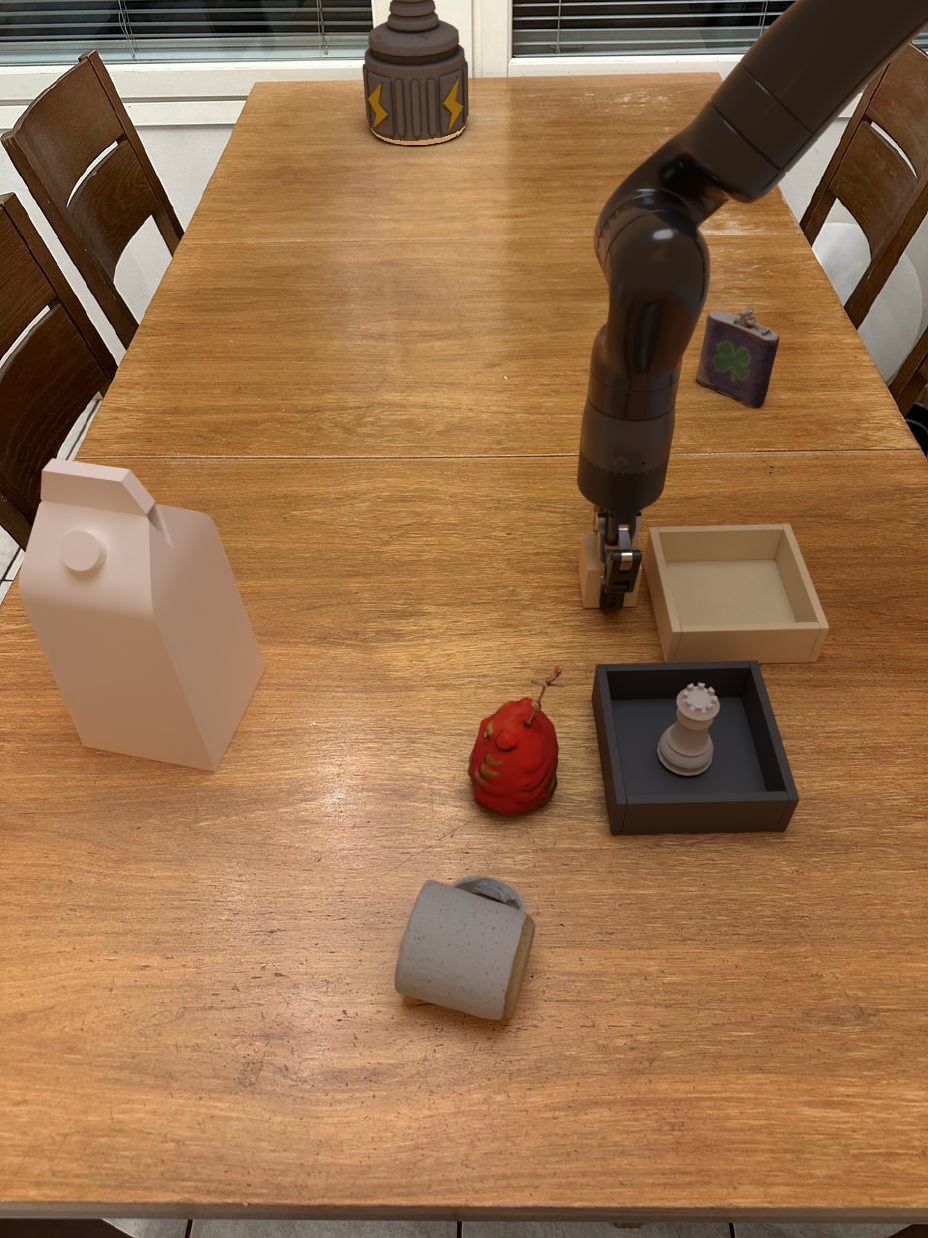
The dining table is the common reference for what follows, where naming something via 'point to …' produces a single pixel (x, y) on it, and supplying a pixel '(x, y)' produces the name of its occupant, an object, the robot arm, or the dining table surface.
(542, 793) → the red clay folk toy
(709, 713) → the rook chess piece
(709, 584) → the ivory bin
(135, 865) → the dining table surface
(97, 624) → the milk
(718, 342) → the flask
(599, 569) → the cream block
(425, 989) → the ceramic mug
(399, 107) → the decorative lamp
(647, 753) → the charcoal bin
